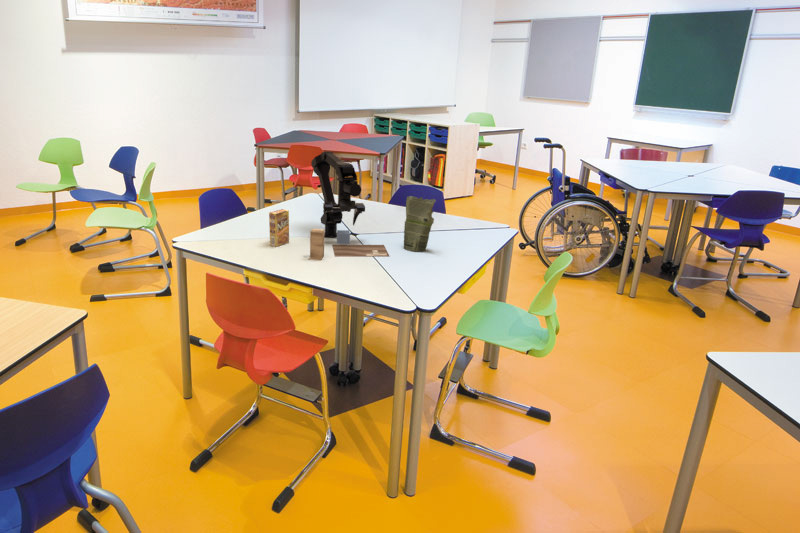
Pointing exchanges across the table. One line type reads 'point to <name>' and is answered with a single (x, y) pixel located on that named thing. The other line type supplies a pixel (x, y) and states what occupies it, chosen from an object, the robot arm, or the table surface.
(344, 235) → the slate cube
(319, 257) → the oak block
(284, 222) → the candy box
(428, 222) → the pouch
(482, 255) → the table surface
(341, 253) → the board
